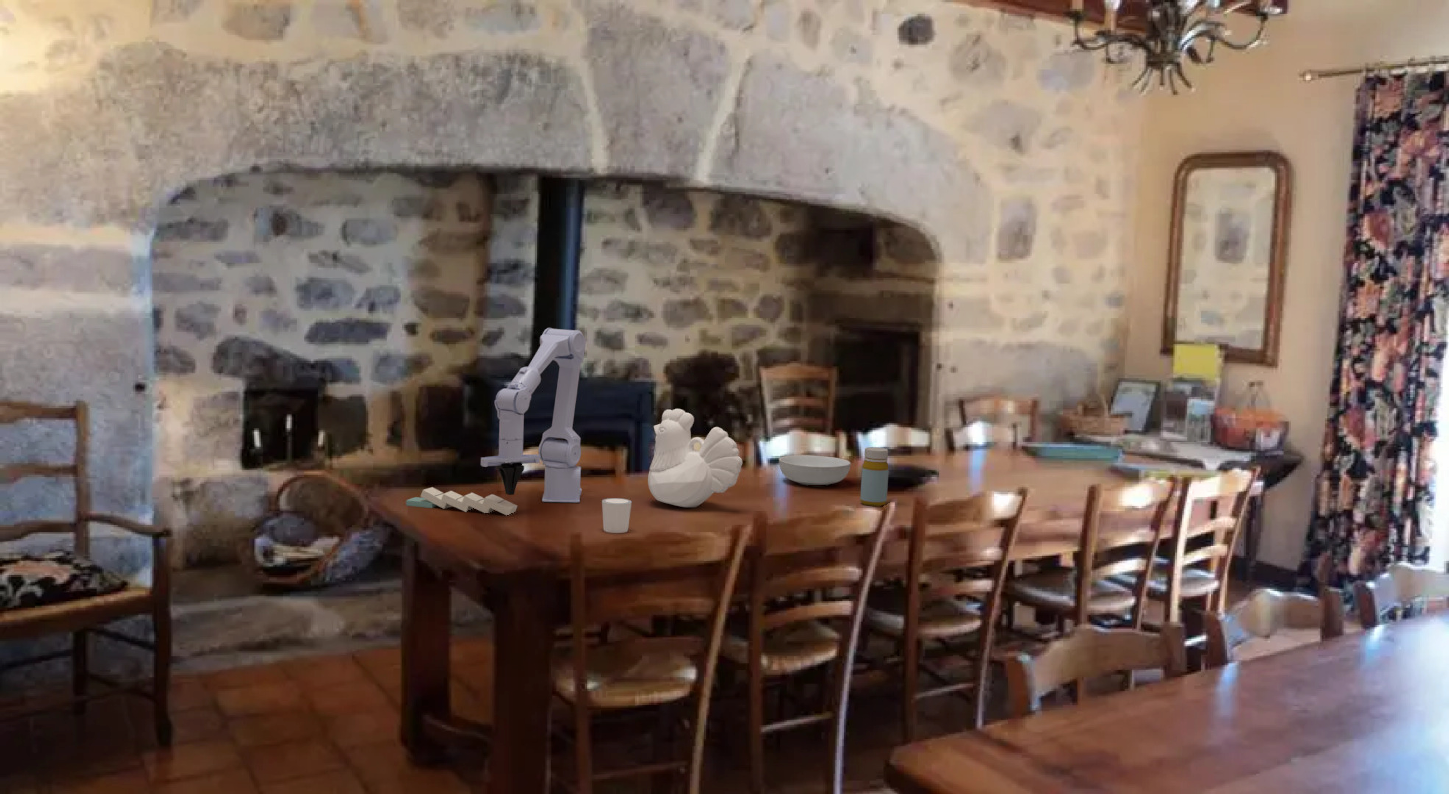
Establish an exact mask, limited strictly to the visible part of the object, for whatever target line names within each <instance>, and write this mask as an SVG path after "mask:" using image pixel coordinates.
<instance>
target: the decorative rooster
mask: <svg viewBox="0 0 1449 794" xmlns="http://www.w3.org/2000/svg"><path fill="white" fill-rule="evenodd" d="M694 422H695V417H694V415H693V414H691V413H689V412H686V411H685V410H684V409H681V408H675V409H665V410H664V411H663V413H662V415H661V422H660V423H659V424H655V425H653V429H654V433H655V437H654V439H655V440H654V441H655V444H654V450H655V452H654V456H653V459H652V461H651V464H650V466H649V472H648V475H647V485H648V489H649V491H650V493H651V495H652V496H653V497H654V498H655V500H657V501H658V502H662V503H665V504H669V505H673V506H676V507H677V506H678V507H682V508H697V507H698V506H701V504H703V503H704V502H706V501H707V500H708V499H709V498H710V497H711V496H712V495H713V494H714V493H721V494H724V493H725V492H726V491H727V490H728V489H729V488H731V487H734V485H736V484H737V482H738V481H737V480H738V478H739V474H740V473H741V471H742V465H743V459H742V458H741V457H740V456H739V454H740V450H739V449H738V444H737V443H736V441H734V439H732V437H729V434H728V431H725V430H724V429H723V428H721V427H719V426H715V427H713V428H711V430H710V431H709V433H708V434H707V435H706V437H705V440H704V439H703V438H702V437H699V436H696V437H693V438H691V437H692V434H691V429H692V427H693V424H694ZM696 443H698V444H699V445H700V448H699V450H695V448H694V447H695V444H696Z"/></svg>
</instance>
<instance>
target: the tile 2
mask: <svg viewBox="0 0 1449 794" xmlns="http://www.w3.org/2000/svg"><path fill="white" fill-rule="evenodd" d="M443 494H444V492H443V491H440V490H439V489H438V488H435V487H433V486H432V487H428V488H425V489H422V492H421V494H420V498H424V499H426V500H428V501H430V502H432V503H434V504H436V505H438V506H437V507H439V508H442V509H443V510H445V509H448V508H451V507H452V506H451V505H449V504H447V503H445V502H443V501H441V499H442V496H443Z"/></svg>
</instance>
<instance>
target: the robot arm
mask: <svg viewBox="0 0 1449 794" xmlns="http://www.w3.org/2000/svg"><path fill="white" fill-rule="evenodd" d="M586 341H587V340H586V338H585V337H584V334H583V332H582V331H581V330H579V329H575V330H573V329H560V328H559V329H558V328H552V327H547V328H546V329H544V331H543V332H542V335H540V337H539V345H540V346H539V347H538V349H537V351H536V352H535V355H534V356H533V358H532V360H531V361H530V363H529V364H528V366H524V367H520V369H519V371H518V372H517V373H516V375H515V376H514V377H513V379H512V380H511V381H510V383H509V384H508V386H507V387H506V388H505V387H504V388H502V389H500V390H499V391H498V392H497V394H496V395H495V400H494V406H495V409H496V411H497V413H496V415H497V418H498V420H499V422H498V423H499V427H498V428H499V429H498V431H499V433H498V436H499V437H498V455H493V456H485V457H480V466H481V467H482V468H483V467H485V468H486V467H494V466H496V468H497V470H498V473H499V474H500V477H501V479H502V483H503V487H504V491H505V495H507V496H514V495H515V491H516V489H517V488H516V487H517V485H518V481H519V479H520V477H521V475H522V474H523V472H524V471H525V465H526V464H540V462H542V465H543V466H544V489H543V491H544V493H543V494H542V500H541V501H542V502H543V503H545V502H546V503H580V502H581V500H580V499H581V495H582V487H581V471H582V467H581V466H577V464H578V462H579V461H580V459H581V455H582V449H581V439H582V438H581V437H580V436H579V434H577V432H576V431H575V430H574V429H573V424H574V417H575V409H576V403H577V402H576V401H577V395H578V386H579V379H580V378H579V377H580V371H581V364H582V363H583V362H584V357H585V351H586V350H585V349H586ZM552 361H555V362H556V363H557V365H558V366H559V370H558V376H557V378H558V379H557V387H556V391H555V392H556V393H555V399H554V400H555V401H554V407H553V415H552V423H551V427H550V428H548V429H547V430H545V431H544V432H543V433H542V437H541V441H540V443H539V446H538V449H537V450H538V451H537V452H538V454H534V453H533V454H524V422H525V421H524V419H525V415H524V414H525V413H526V412H527V411H528V410H529V408H530V403H531V400H532V395H533V393H534V392H535V390H536V389H537V387H538V386H539V385H540V384H541V382H542V381H541V380H542V378H541V374H543V372H544V371H545V370H546V368H547V367H548V366H549V365H550V364H551V362H552ZM563 439H565V440H563ZM523 464H525V465H523Z"/></svg>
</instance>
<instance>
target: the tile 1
mask: <svg viewBox="0 0 1449 794" xmlns="http://www.w3.org/2000/svg"><path fill="white" fill-rule="evenodd" d="M405 505H406V506H409V507H416V508H417V507H419V508H428V509H429V508H430V509H433V508H435V507H439V506H438V505H436V504H434V503H432V502H430V501H428V500H426V499H424V498H422V497H421V496H420V497H419V496H418V497H417V496H415V497H411V498H409V499H406V500H405Z"/></svg>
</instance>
